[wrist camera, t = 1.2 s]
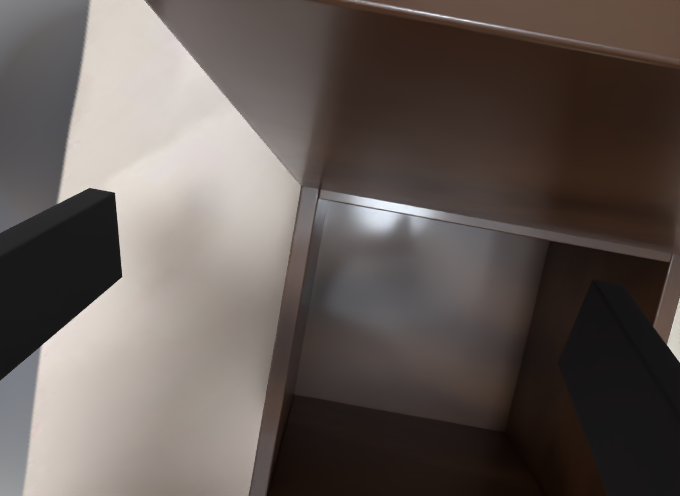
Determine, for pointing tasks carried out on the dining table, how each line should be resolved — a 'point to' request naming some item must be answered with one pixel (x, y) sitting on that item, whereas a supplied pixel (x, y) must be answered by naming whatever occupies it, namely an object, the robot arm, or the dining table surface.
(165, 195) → the dining table surface
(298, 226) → the bin
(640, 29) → the lid
